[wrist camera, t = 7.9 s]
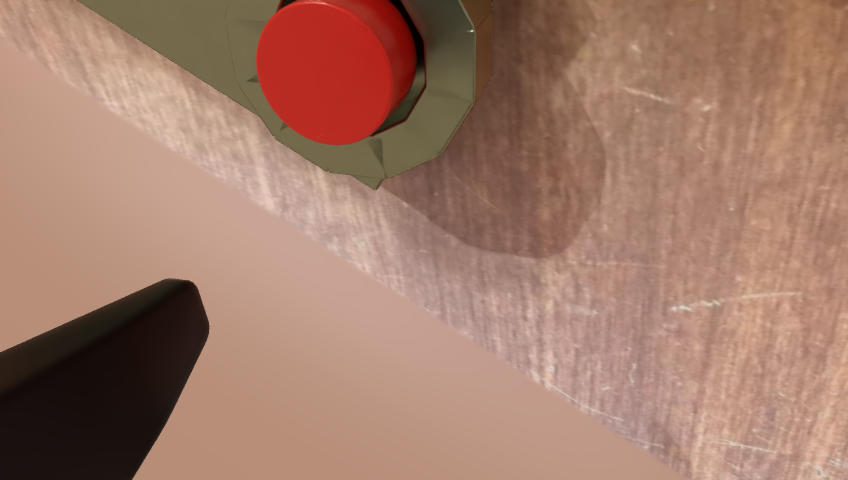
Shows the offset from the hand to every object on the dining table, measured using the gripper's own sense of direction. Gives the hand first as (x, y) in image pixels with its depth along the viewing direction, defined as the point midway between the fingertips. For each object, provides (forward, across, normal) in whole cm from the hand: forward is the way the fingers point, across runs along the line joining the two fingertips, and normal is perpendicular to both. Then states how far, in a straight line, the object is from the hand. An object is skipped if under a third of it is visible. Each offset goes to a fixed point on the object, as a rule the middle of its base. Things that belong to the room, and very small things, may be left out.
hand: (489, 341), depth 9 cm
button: (+8, +5, -1) cm, 9 cm away
